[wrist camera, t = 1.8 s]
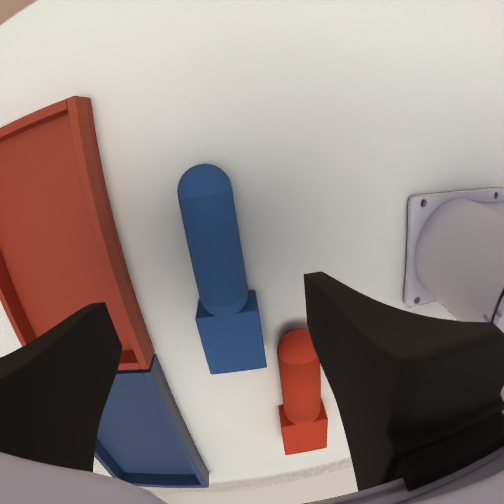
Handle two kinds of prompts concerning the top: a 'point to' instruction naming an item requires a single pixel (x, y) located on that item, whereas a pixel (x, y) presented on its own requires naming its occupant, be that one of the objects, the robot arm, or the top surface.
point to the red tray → (62, 230)
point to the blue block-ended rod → (220, 273)
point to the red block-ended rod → (301, 394)
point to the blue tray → (147, 434)
